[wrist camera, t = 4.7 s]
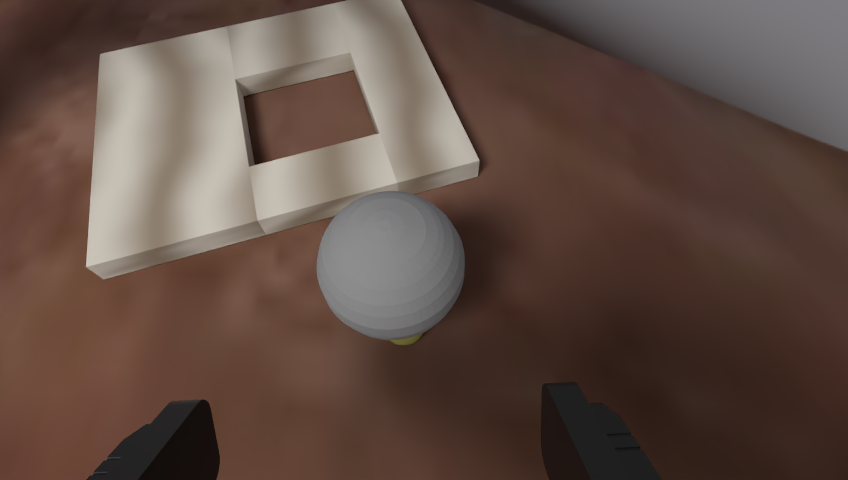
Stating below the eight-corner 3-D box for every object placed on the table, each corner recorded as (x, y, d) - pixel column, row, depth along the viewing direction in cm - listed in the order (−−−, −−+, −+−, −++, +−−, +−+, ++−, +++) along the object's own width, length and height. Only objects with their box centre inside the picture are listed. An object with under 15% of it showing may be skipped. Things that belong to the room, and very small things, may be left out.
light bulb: (445, 397, 22) (447, 322, 13) (336, 369, 23) (272, 282, 14) (468, 293, 25) (482, 175, 16) (370, 272, 25) (333, 148, 17)
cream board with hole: (104, 279, 26) (86, 267, 24) (112, 71, 35) (100, 53, 33) (477, 176, 28) (479, 160, 27) (397, 7, 37) (395, -11, 36)
